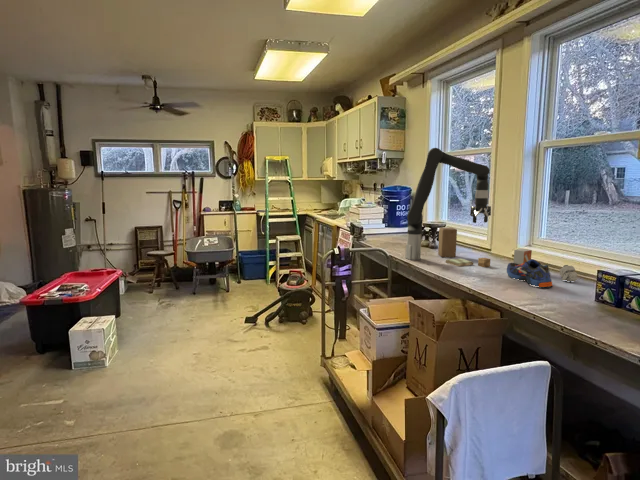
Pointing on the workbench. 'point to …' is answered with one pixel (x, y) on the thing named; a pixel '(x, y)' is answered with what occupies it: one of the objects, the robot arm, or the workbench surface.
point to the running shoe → (530, 273)
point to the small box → (522, 256)
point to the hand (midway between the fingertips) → (480, 222)
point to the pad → (459, 262)
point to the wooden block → (447, 242)
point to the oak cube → (484, 262)
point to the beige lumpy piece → (568, 273)
